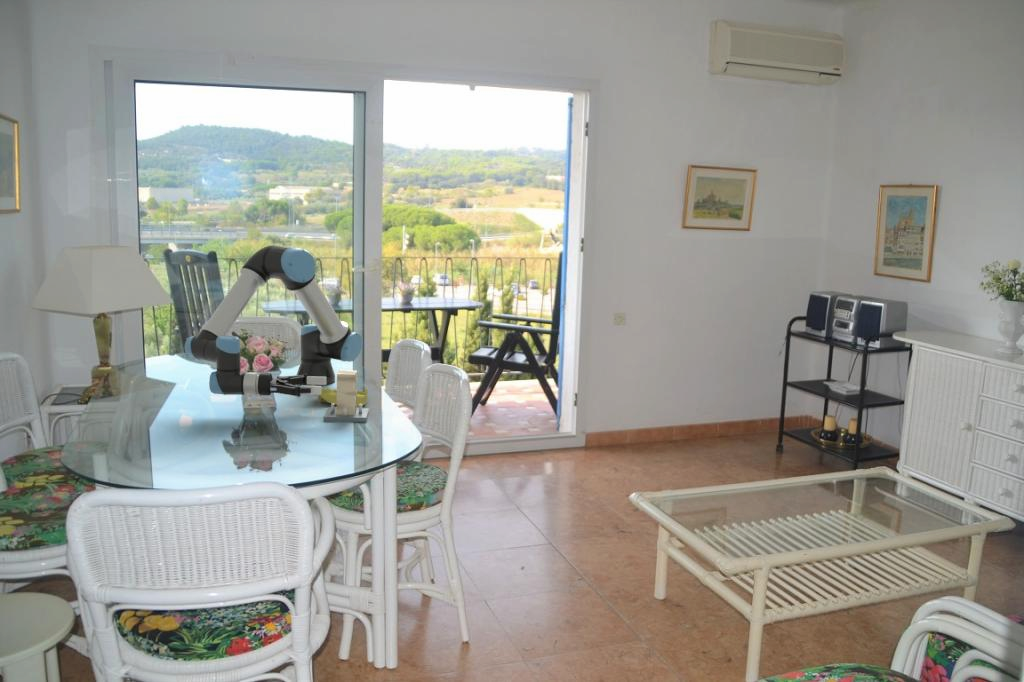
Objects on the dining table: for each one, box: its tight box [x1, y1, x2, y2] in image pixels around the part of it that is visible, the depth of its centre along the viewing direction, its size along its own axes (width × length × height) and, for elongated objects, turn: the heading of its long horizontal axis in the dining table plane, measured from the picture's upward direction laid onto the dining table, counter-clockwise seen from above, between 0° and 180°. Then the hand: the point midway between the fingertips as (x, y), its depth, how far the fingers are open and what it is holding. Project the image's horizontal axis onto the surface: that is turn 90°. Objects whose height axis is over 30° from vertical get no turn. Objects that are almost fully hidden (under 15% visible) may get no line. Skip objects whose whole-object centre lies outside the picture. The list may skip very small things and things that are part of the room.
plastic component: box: [310, 385, 369, 407], centre depth 295 cm, size 20×7×10 cm
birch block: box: [336, 369, 358, 415], centre depth 276 cm, size 6×6×14 cm
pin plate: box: [323, 403, 370, 423], centre depth 277 cm, size 12×14×4 cm
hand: (324, 385), depth 274 cm, fingers open, 13 cm apart
